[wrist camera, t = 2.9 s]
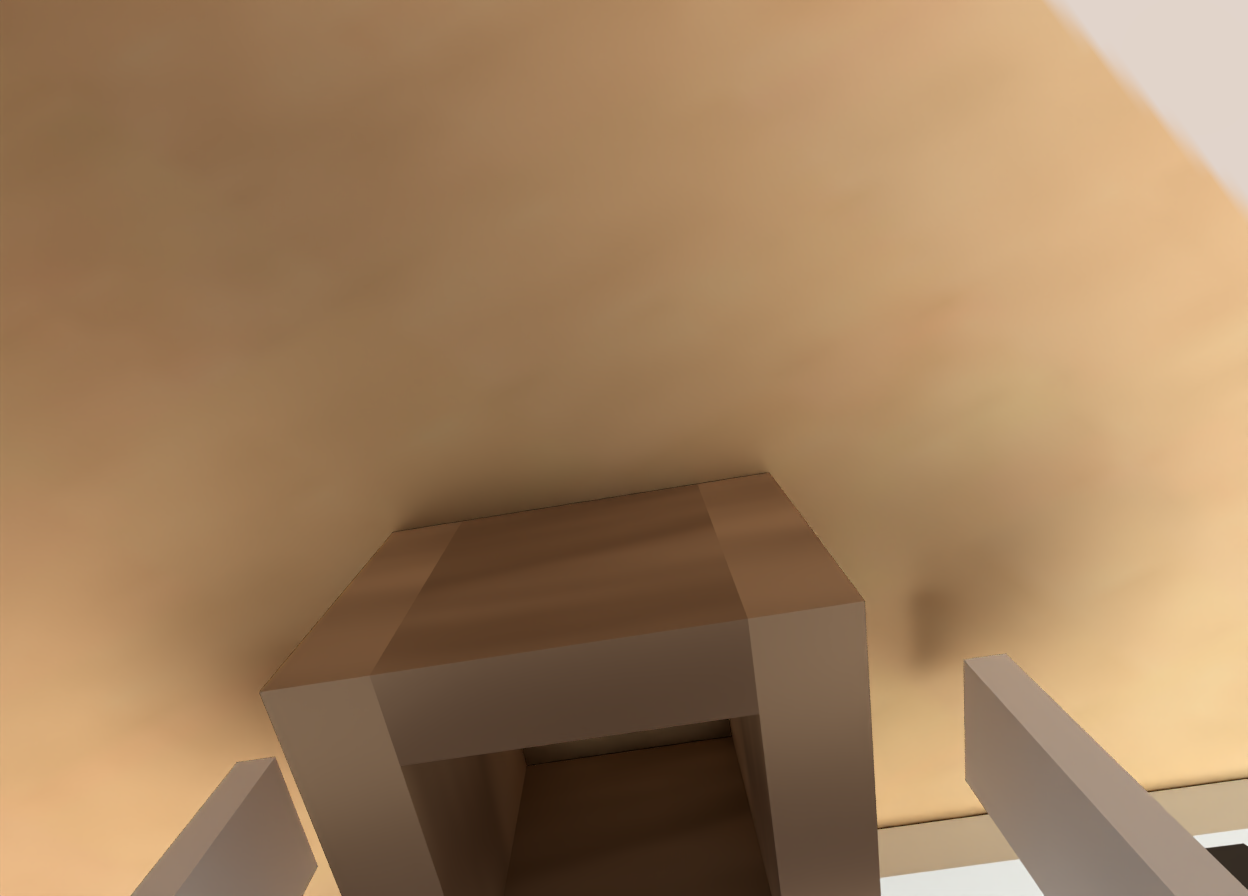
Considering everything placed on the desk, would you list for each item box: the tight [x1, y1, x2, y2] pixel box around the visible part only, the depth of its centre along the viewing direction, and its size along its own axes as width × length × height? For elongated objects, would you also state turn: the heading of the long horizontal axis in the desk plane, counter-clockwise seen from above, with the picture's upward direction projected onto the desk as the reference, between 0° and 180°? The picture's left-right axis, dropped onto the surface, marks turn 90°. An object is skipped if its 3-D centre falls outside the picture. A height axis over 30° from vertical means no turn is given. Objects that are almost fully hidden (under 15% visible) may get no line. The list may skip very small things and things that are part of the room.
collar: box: [259, 473, 881, 896], centre depth 11 cm, size 8×8×5 cm
